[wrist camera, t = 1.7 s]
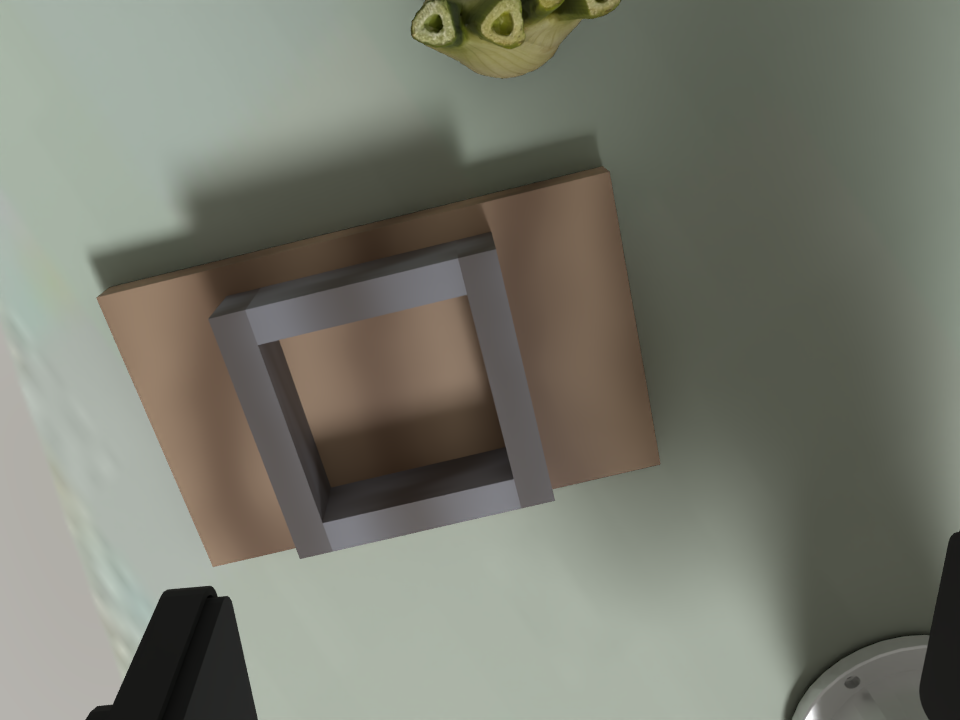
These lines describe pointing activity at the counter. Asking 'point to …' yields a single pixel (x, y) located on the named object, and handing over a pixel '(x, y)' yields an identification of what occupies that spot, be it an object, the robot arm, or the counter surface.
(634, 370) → the collar stand
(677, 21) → the counter surface
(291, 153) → the counter surface
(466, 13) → the fennel bulb
